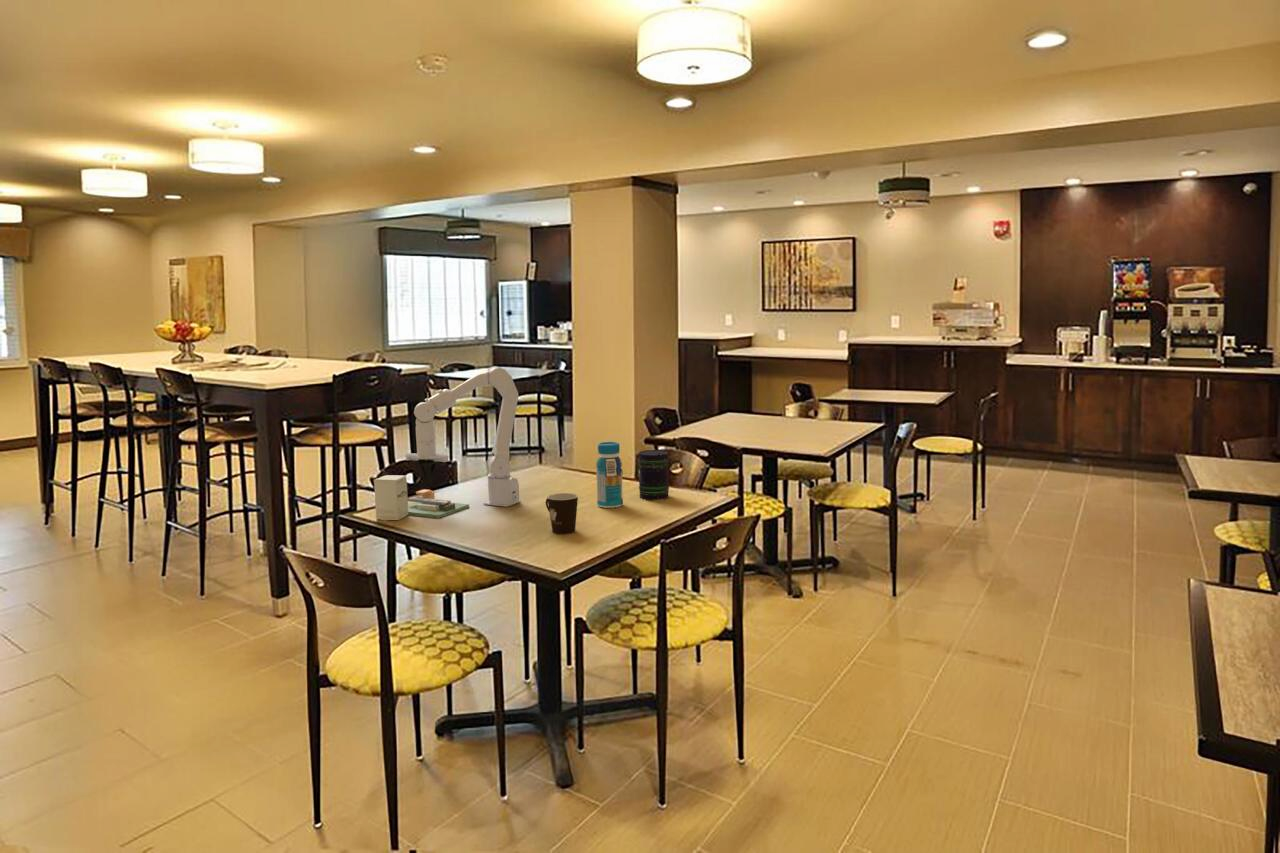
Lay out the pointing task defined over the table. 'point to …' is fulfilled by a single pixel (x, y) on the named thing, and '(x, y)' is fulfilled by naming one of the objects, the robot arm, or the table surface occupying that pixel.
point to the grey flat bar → (429, 500)
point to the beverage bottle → (609, 476)
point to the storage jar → (653, 474)
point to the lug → (426, 494)
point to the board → (434, 509)
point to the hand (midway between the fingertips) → (428, 483)
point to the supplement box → (391, 497)
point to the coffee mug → (562, 512)
